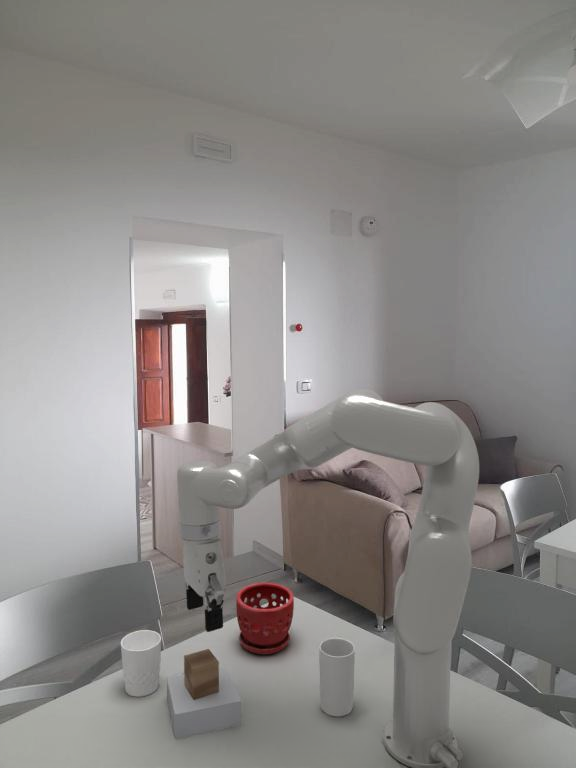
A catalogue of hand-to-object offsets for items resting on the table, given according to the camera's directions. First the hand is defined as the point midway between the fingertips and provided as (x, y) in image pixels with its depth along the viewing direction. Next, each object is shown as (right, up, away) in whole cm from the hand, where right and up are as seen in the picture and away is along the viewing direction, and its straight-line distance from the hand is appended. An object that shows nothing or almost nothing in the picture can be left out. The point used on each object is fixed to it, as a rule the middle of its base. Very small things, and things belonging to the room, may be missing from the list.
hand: (204, 618), depth 110 cm
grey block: (-1, -19, +2) cm, 19 cm away
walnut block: (-1, -14, +1) cm, 14 cm away
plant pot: (+10, -16, +25) cm, 32 cm away
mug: (+25, -18, +5) cm, 31 cm away
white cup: (-14, -18, +9) cm, 25 cm away
